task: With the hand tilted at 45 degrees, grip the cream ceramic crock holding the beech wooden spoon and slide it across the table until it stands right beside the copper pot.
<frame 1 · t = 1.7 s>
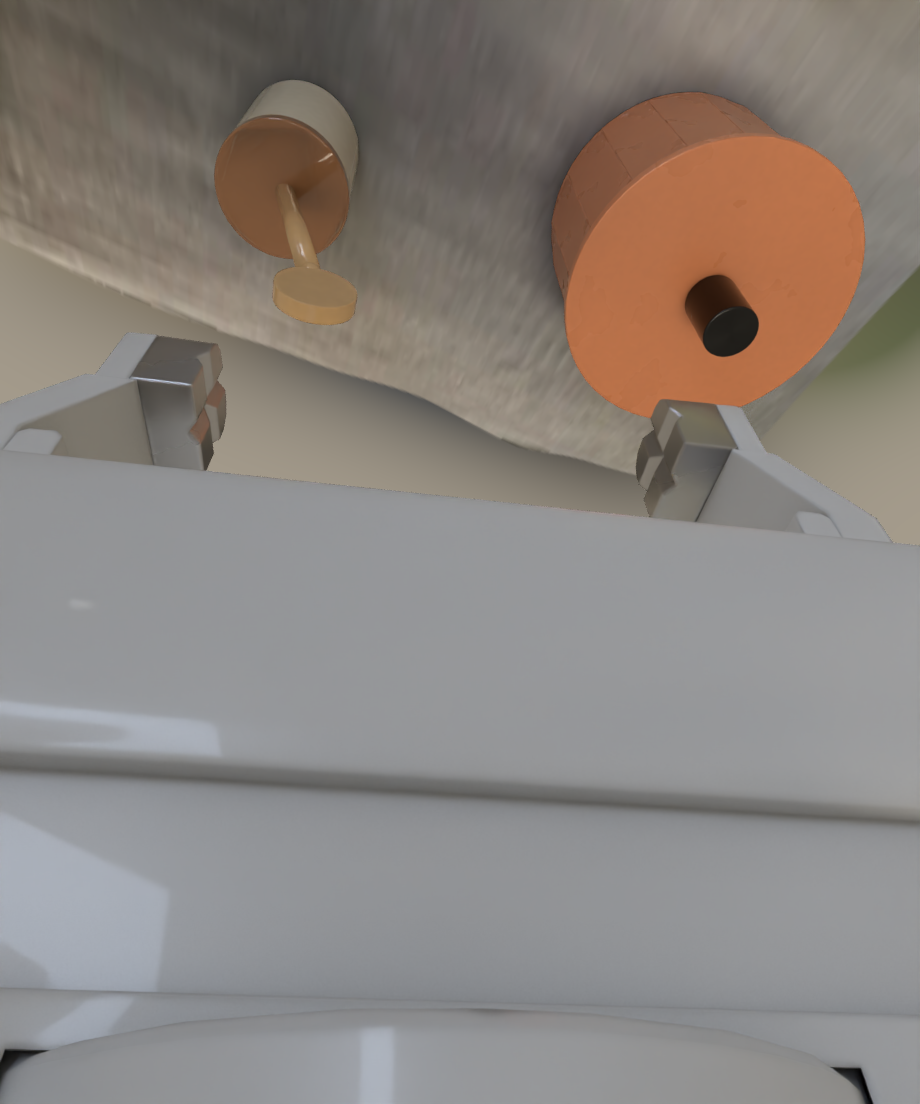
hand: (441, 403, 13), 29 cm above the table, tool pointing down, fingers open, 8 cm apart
pot: (662, 222, 39), on the table
crock: (302, 146, 36), on the table
pot lid: (707, 294, 33), point 9 cm above the table, touching pot
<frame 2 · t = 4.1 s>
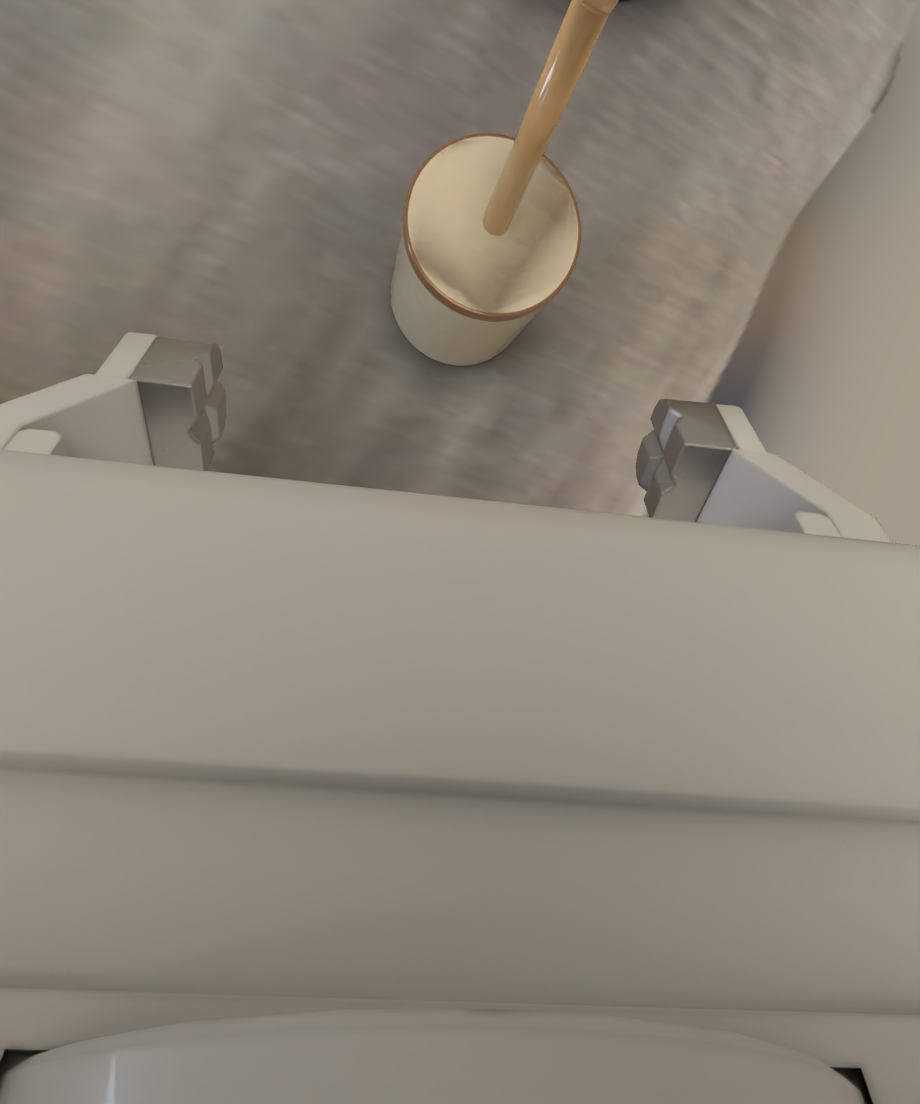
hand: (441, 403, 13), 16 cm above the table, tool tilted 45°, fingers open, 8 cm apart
crock: (458, 297, 29), on the table
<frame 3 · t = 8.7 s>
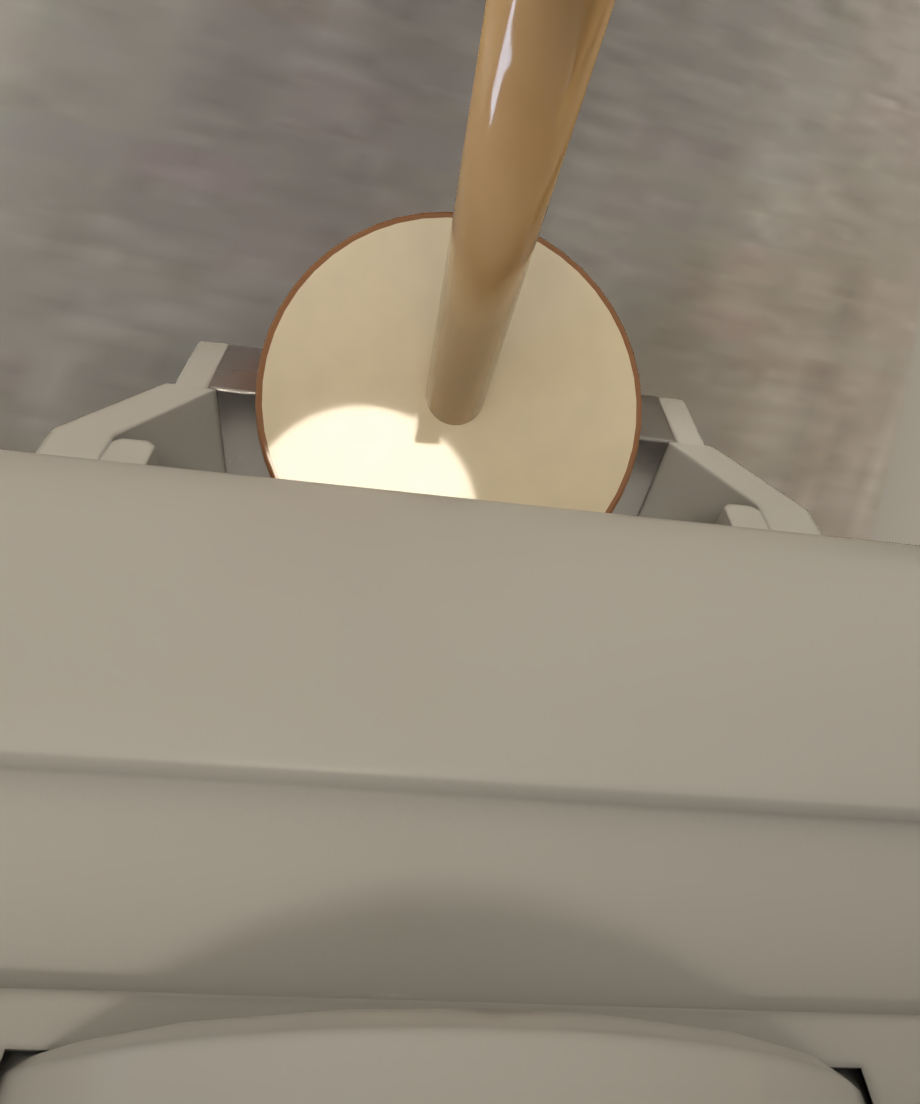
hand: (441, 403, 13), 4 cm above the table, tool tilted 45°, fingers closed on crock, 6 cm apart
crock: (427, 469, 17), on the table, touching gripper
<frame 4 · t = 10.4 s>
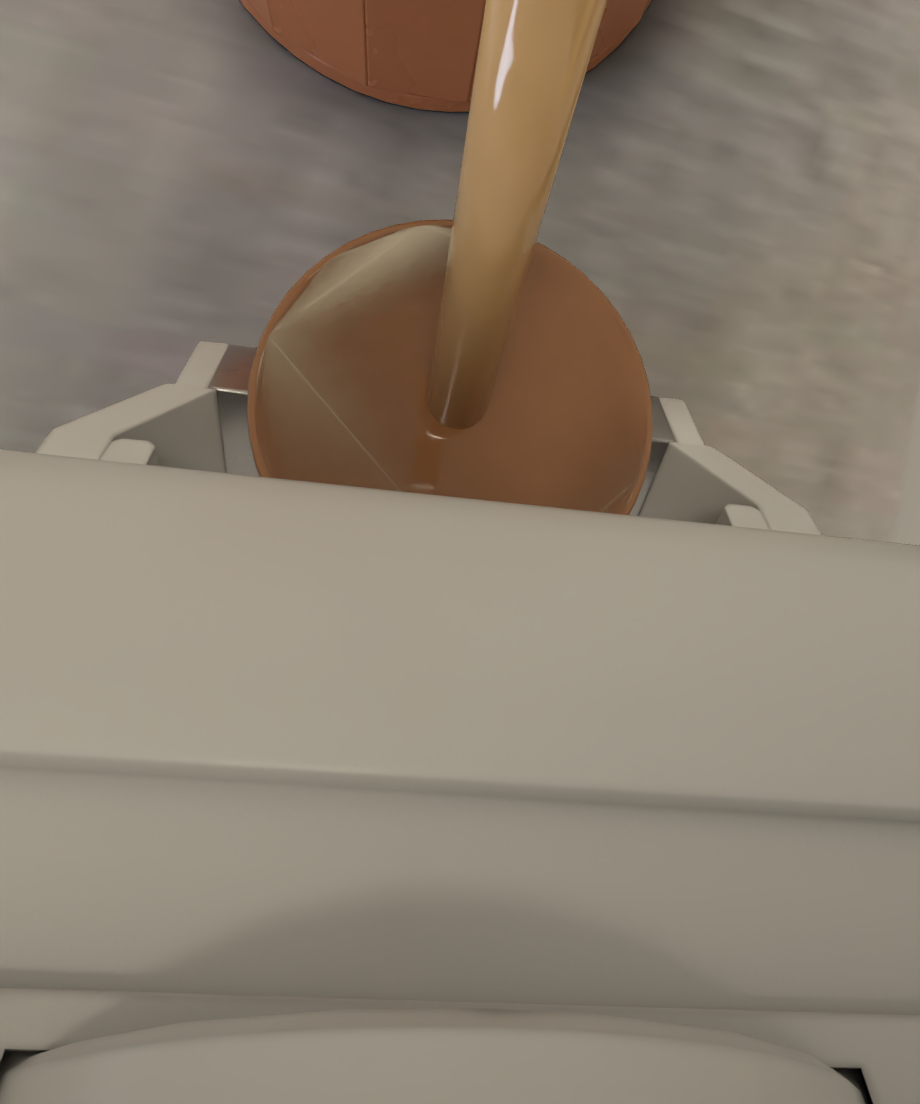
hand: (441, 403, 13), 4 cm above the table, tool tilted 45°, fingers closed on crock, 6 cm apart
crock: (424, 507, 17), point 1 cm above the table, tilted 7°, touching gripper
when the fingers open (4 cm above the table, at t = 12.1 s): crock stays where it is, on the table.
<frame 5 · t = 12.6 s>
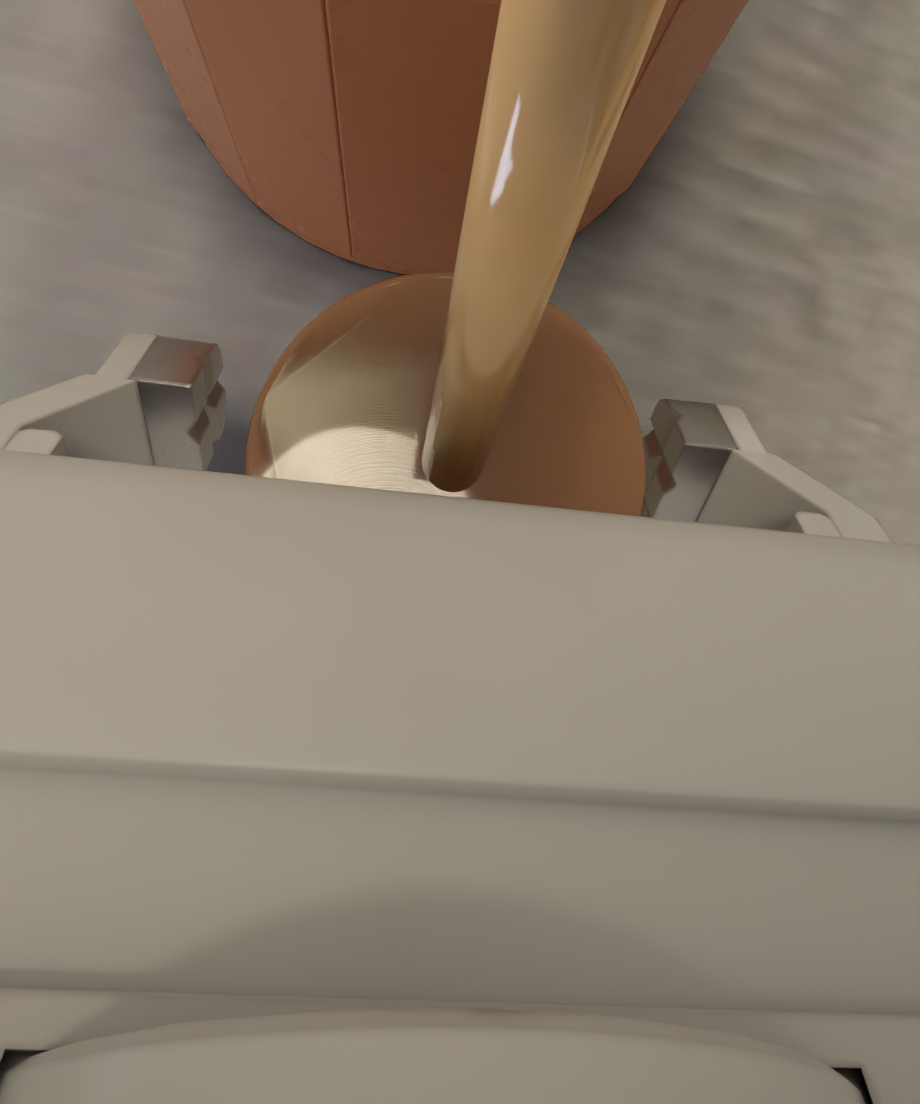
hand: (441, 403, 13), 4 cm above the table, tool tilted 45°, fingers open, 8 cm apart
pot: (427, 27, 17), on the table
crock: (425, 509, 17), on the table
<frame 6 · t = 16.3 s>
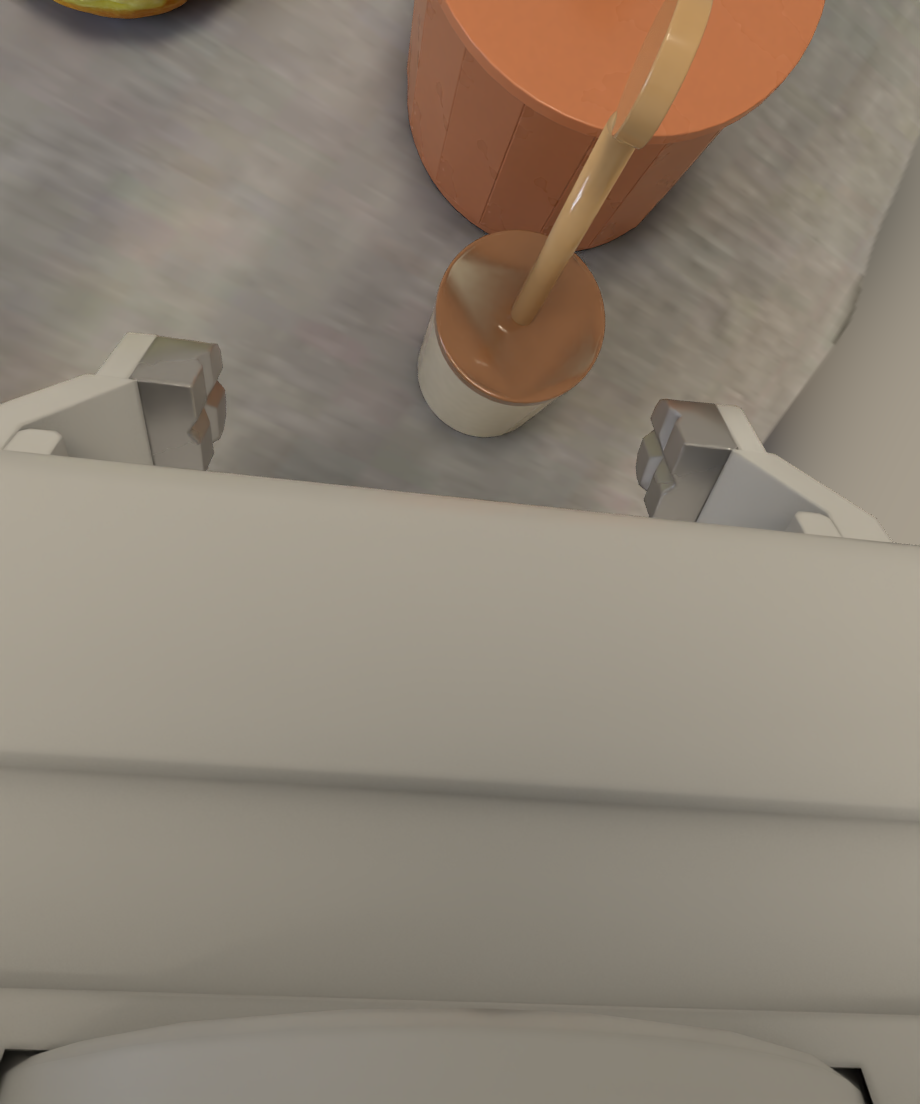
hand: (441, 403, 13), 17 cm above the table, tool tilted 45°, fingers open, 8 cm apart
pot: (548, 111, 31), on the table
crock: (483, 371, 30), on the table
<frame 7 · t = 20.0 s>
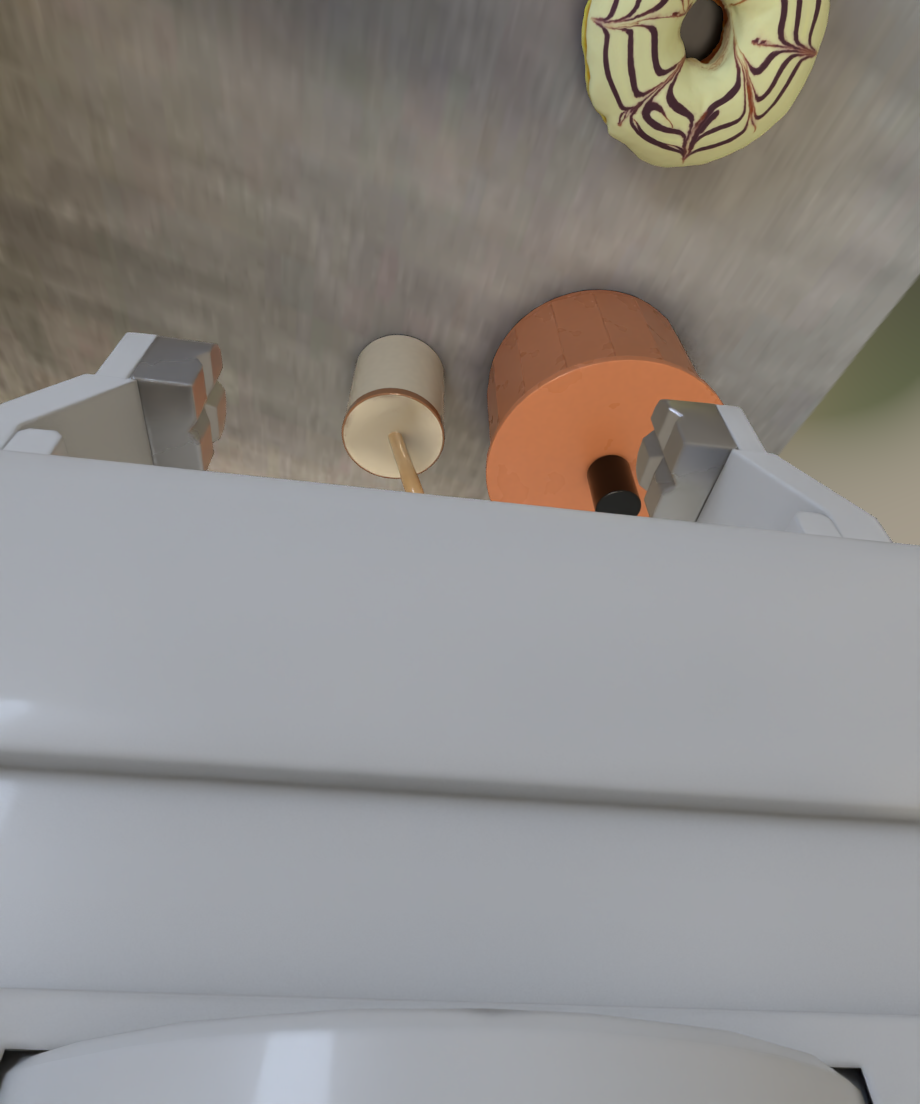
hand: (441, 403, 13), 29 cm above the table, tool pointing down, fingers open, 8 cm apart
pot: (584, 384, 46), on the table
decorated donut: (689, 25, 33), on the table
crock: (399, 376, 45), on the table
pot lid: (606, 466, 39), point 9 cm above the table, touching pot
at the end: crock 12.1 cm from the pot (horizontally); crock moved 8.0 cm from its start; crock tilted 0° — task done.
